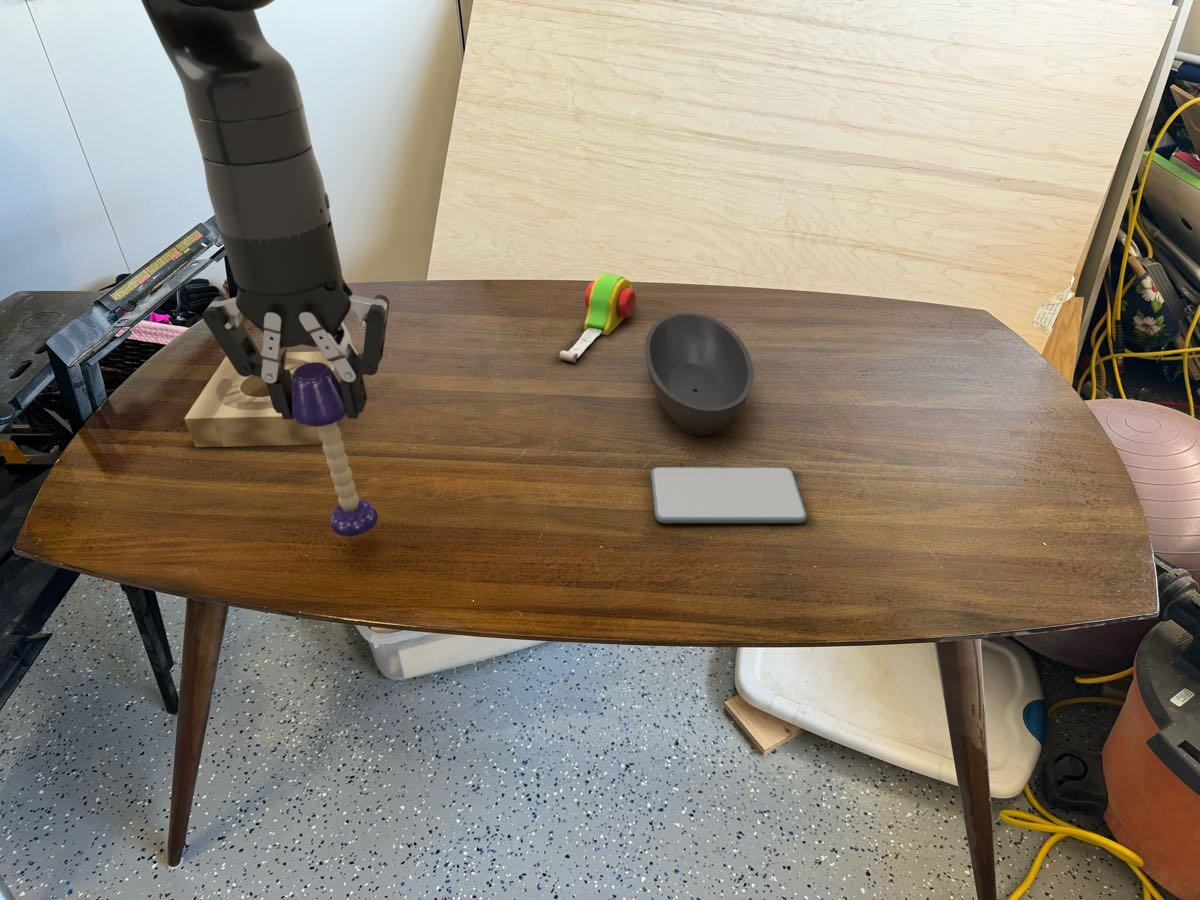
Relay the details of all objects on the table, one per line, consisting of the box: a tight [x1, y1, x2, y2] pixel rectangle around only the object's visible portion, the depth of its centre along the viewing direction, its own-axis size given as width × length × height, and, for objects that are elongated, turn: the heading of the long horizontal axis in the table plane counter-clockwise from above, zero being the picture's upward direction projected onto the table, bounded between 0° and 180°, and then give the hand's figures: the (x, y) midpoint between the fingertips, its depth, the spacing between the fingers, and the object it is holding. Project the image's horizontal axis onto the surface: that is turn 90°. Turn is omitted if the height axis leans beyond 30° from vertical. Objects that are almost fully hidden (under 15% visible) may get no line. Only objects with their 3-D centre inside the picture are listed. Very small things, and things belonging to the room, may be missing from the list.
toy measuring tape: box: [558, 272, 637, 364], centre depth 108 cm, size 6×20×7 cm, turn 154°
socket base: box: [183, 350, 342, 448], centre depth 94 cm, size 14×14×4 cm
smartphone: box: [650, 466, 808, 524], centre depth 81 cm, size 8×1×15 cm
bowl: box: [644, 312, 754, 437], centre depth 94 cm, size 12×22×6 cm, turn 3°
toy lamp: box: [292, 362, 379, 537], centre depth 69 cm, size 5×5×17 cm
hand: (323, 412), depth 66 cm, fingers closed on toy lamp, 4 cm apart
